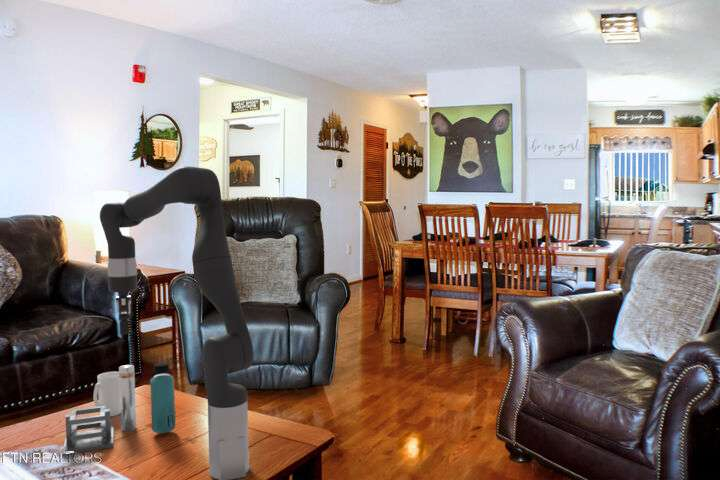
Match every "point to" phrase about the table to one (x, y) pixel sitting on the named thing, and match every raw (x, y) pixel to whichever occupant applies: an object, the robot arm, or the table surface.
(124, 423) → the steel tube
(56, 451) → the table surface
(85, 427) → the collar stand
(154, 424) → the beverage bottle
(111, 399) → the mug
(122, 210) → the robot arm
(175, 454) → the table surface
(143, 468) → the table surface
